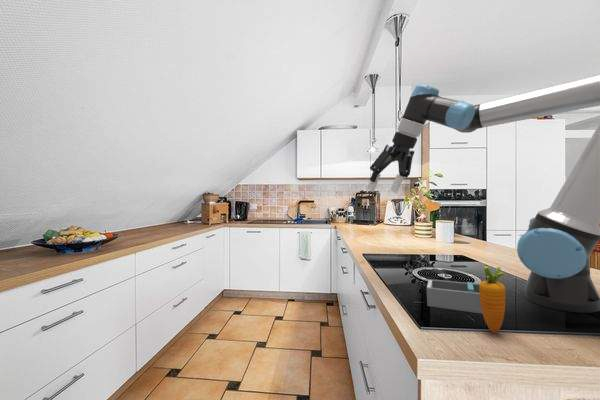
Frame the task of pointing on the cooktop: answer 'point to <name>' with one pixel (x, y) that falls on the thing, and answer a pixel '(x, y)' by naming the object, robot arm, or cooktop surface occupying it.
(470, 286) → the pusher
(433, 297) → the grey open box
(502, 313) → the carrot
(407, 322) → the cooktop surface
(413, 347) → the cooktop surface
